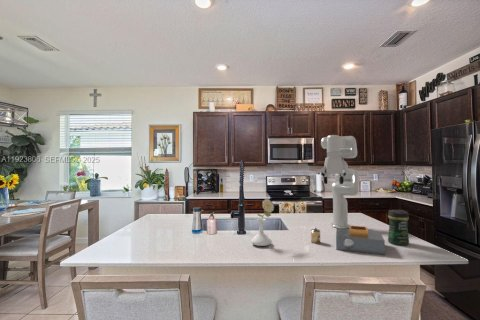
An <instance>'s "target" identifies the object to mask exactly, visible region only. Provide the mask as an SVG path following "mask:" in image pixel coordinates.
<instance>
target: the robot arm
mask: <svg viewBox="0 0 480 320" xmlns="http://www.w3.org/2000/svg"><path fill="white" fill-rule="evenodd" d="M320 146H321V148H322V149H323V150H325V149H326V157H325V158H324V159H325V160H324V164H323V165H324V166H323V167H322V168H320V169H319V170H318V171H319V173H320V175H321V176H322V177H323V184H324V185H327V184H328V175H334V180H335V181H334V182H332V184H331V194H332V215H333V216H332V218H333V220H332V221H333V222H332V223H331V224H330V225H331V226H330V227H332V228H335V229H337V228H344V229H349V225H350V224H349V221H348V220H349V219H348V216H349V215H348V214H349V213H348V210H349V209H348V201H347V198H346V197H345V196H351V197H353V196H354V197H355V196H357V195H358V194H359V186H360V185H359V184H360V183H359V182H360V181H359V180H360V179H359V178H360V176H359V171H358V170H357V169H353V168H352V169H351V168H349V166H348V165H349V164H348V163H347V161H345V159H355V158H356V157H358V148H357V147H358V146H357V139H356V138H355V136H353V135H346V136H345V135H344V136H343V135H342V136H339V135H338V134H330V135H327V136H325V137H322V138H321V140H320Z"/></svg>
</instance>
